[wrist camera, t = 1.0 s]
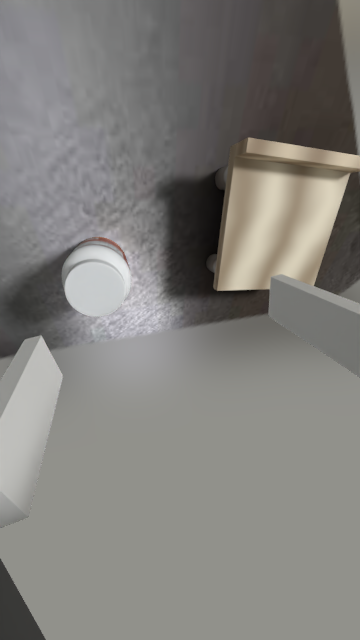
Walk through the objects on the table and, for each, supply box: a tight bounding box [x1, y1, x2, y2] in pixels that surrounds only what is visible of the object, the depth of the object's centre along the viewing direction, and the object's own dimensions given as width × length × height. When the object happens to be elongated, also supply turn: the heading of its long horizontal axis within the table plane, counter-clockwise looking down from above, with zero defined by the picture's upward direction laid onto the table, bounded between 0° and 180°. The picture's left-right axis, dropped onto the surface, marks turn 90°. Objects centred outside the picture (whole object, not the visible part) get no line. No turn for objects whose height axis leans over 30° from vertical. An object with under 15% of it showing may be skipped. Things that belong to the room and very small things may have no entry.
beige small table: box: [206, 138, 360, 291], centre depth 27 cm, size 14×14×8 cm
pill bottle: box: [61, 237, 131, 317], centre depth 23 cm, size 6×6×11 cm
